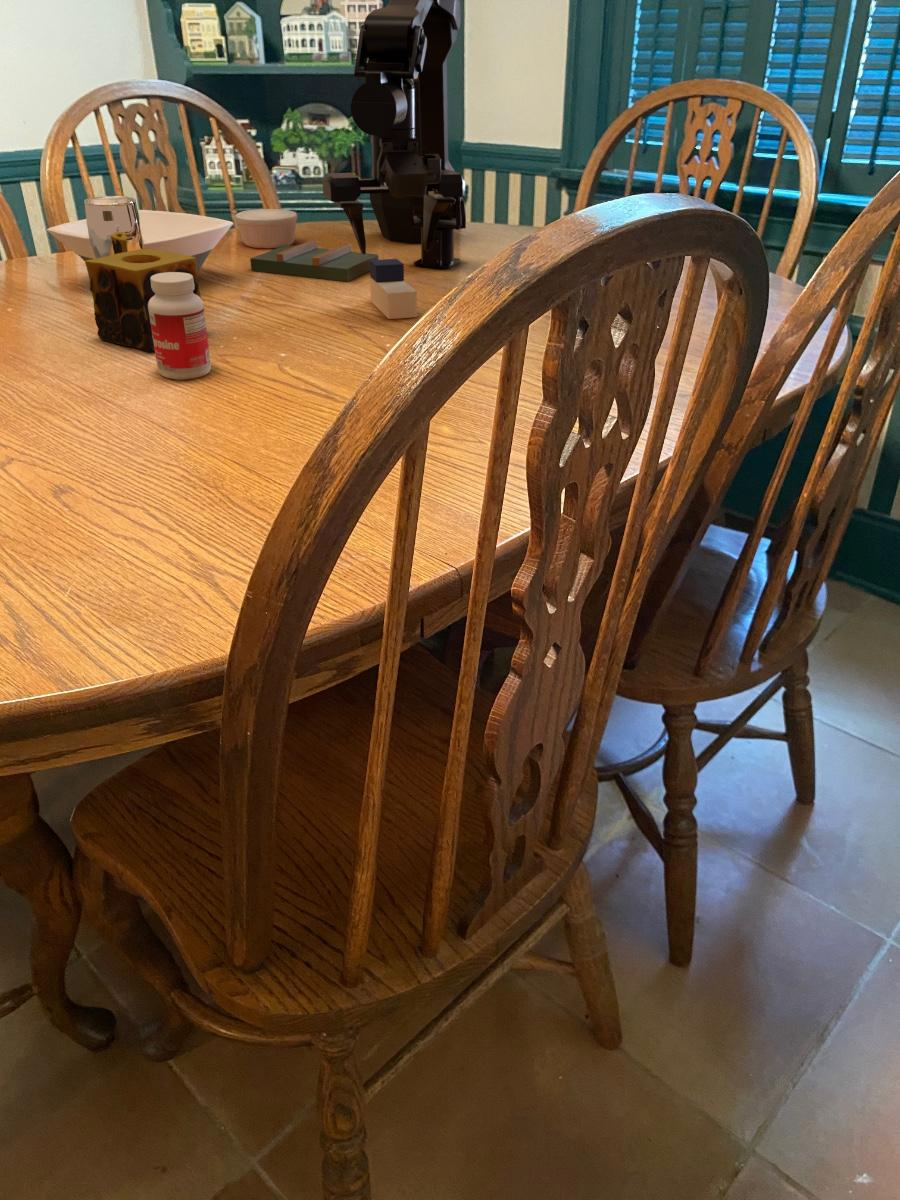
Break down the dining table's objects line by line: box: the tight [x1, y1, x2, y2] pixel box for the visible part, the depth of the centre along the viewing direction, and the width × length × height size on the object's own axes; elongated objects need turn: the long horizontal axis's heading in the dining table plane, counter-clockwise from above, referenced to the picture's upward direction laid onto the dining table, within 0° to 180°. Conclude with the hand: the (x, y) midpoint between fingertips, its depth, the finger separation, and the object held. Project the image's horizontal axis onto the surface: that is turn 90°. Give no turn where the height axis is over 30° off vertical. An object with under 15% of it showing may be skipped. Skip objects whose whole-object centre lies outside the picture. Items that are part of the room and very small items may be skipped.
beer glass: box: [83, 195, 144, 259], centre depth 125 cm, size 7×7×15 cm
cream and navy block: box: [369, 258, 418, 320], centre depth 131 cm, size 10×4×6 cm, turn 19°
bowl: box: [46, 209, 234, 274], centre depth 142 cm, size 22×23×8 cm
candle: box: [84, 249, 202, 353], centre depth 117 cm, size 10×10×10 cm
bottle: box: [369, 68, 421, 243], centre depth 170 cm, size 16×16×30 cm
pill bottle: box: [148, 272, 212, 381], centre depth 105 cm, size 6×6×11 cm
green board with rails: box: [249, 239, 380, 283], centre depth 153 cm, size 12×18×3 cm, turn 69°
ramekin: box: [234, 208, 298, 249], centre depth 169 cm, size 11×11×5 cm
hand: (395, 252), depth 127 cm, fingers open, 9 cm apart
